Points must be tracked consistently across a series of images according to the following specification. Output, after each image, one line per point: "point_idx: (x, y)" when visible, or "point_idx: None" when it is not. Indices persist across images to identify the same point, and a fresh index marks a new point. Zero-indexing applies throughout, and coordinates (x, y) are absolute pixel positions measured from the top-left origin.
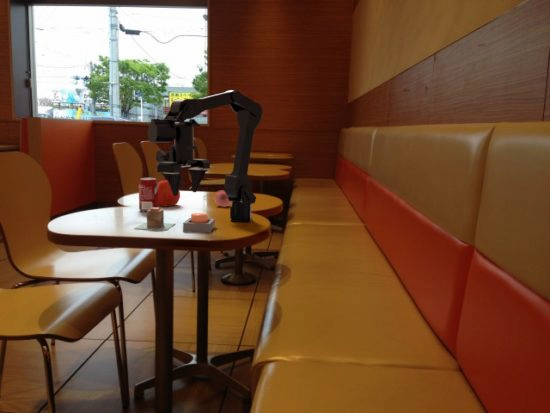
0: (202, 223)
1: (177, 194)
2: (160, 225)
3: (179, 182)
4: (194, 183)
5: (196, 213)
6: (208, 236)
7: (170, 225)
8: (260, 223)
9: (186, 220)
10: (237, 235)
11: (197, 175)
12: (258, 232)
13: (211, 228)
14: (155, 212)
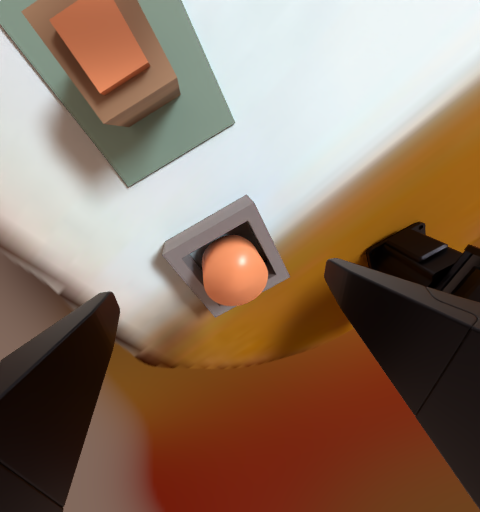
0: (205, 300)
1: (116, 321)
2: (135, 121)
3: (66, 462)
4: (369, 312)
5: (246, 259)
6: (172, 327)
7: (193, 135)
8: None
9: (206, 230)
10: (229, 354)
11: (440, 401)
12: (280, 358)
13: None
14: (84, 93)
